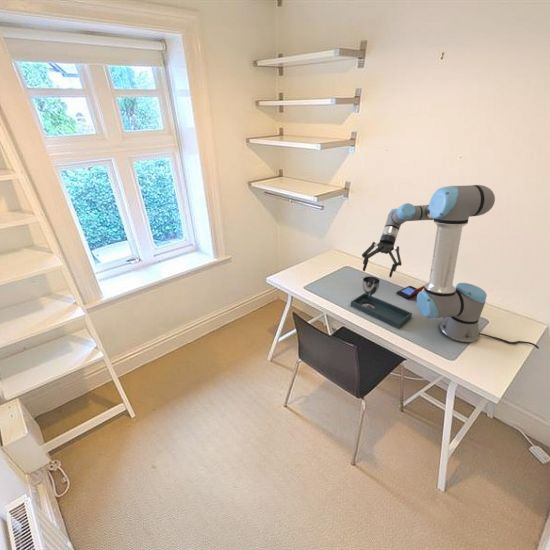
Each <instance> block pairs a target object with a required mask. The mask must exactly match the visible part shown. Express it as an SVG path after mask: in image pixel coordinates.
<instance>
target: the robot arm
mask: <svg viewBox="0 0 550 550" xmlns="http://www.w3.org/2000/svg"><path fill="white" fill-rule="evenodd" d="M495 202H496V196H495V194H494V192H493V190H492V189H491V188H490V187H488V186H486V185H481V184H472V185H471V184H470V185H447V186H442V187H440V188H437V189H436V190H435V192H433V194H432V196H431V197H430V200H429V204H421V205H414V204H411V203H410V202H406V203H403V204H401V205H400V206H398V207H396V208H395V207H394V208H391V210H390V211H389V213H388V215H387V219H386V222H385V224H384V228H383V229H382V233H381V236H380V239H379V241H378V243H377V242H375V241H372V243H371V244H370V246H369V247H368V248H367V249H365V251H364V252H362V254H361V258H363V261H362V264H363V267H362V271H363V272H366V269H367V266H368V264H369V259H370V258H372V257H373V256H375V255H377V254H379V253H381V254H385V255H387V254H388V255H389V257H390V259H391V260H392V262H393V263H392V265H391V268H390V271H389V275H388V277H389V278H392V276H393V272H396V271H397V267H398V266H399V267H401V266H402V264H403V263H402V260H401V255H400V246H395V243H396V239H397V238H398V235H399V232H400V231H399V230H400V229H401V226H402V225H403V224H404V223H406V222H417V221H433V223H434V224H435V225H436V233H435V240H434V246H433V253H432V259H431V260H432V261H431V268H430V274H429V281H428V282H427V283H425V284H424V285H425V287H424V289H423V290H422V291H421V292H419V293H418V294H417V295H416V304H417V309H418V310H419V313H421V315H422V316H423V317H424V318H427V319H442V318H443V319H442V321H441V322H440V325H439V330H440V332H441V334H443V335H444V336H445V337H446V338H448V339H450V340H452V341H455V342H458V343H463V344H464V343H465V344H471V343H474V342H476V341H477V340H478V339H479V336H483V337H487V338H492V339H495V340H499V341H502V342H504V343H506V344H511V345H515V344H527V345H531V346H533V347H535V348H536V349H540V347H539V346H538V345H537V344H535V343H533V342H529V341H522V340H516V341H509V340H506V339H503V338H500V337H496V336H492V335H489V334H485V333H483V332H482V333H481V332H480V328H479V320H480V317H481V315H482V312H483V309H484V307H485V304H486V300H487V297H488V295H487V293H486V291H485V290H484V289H483V288H481V287H479V286H477V285H475V284H473V283H472V284H471V283H467V282H459V283H457V284H456V285H455V286H454V285H453V284H454V278H455V272H456V266H457V262H458V261H457V260H458V255H459V249H460V243H461V237H462V233H463V228H464V227H465V226H466V225H468V224H469V218H470V217H479V216H482V215H485V214H487V213H488V212H490V211H491V209H492V208H493V207H494V205H495ZM373 249H374V250H373ZM393 250H394V251H395V252H396V253H395V254H396V257H397V259H396V258H395V255H394V254H393Z"/></svg>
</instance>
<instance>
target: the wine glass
mask: <svg viewBox="0 0 550 550" xmlns="http://www.w3.org/2000/svg"><path fill="white" fill-rule="evenodd" d="M380 284H381V281H380V279H379V278H377V277H376V276H370V275H369V276H365V277H363V279H362V288H363V291H364V293H366V294H367V296H368V302H363V303H361V305H362V306H364V307H367V308H369V309H374V308H375V305H374V304H373V303H370V302H369V300H370V297H371V296H373V295H375V294H376V293H377V292H378V290H379V287H380Z"/></svg>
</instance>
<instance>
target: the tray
mask: <svg viewBox="0 0 550 550" xmlns="http://www.w3.org/2000/svg"><path fill="white" fill-rule="evenodd" d="M363 302H368V296H367V294H366V293H365V292H364V293H362V294H360V295H359V296H357V297H356V298H354V299H352V300H351V301H350V307H352V308H354V309H356V310H358V311H360V312H363V313H365V314H366V315H369V316H370V317H373V318H375V319H377V320H379V321H381V322H383V323H385V324H388V325H390V326H391V327H394V328H396V329H400V328H401V327H403V326H404V325H405V324H406V323H407V322H409V320H411V319H412V316H413V313H412V312H410V311H408V310H406V309H403V308H401V307H398V306H396V305H394V304H392V303H389V302H387V301H385V300H382V299H380V298H378V297H375V296H373V295H371V297H370V300H369V302H370V303H373V304H374V305H375V308H374V309H369V308H367V307H364V306H362V305H361V303H363Z"/></svg>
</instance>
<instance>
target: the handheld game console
mask: <svg viewBox="0 0 550 550" xmlns="http://www.w3.org/2000/svg"><path fill="white" fill-rule="evenodd" d="M424 287H425V284H424V285H422V286H421V287H419V288H417V287H415V286H412V285H408V286H406V287H404V288H402V289H400V290H398V291H396V294H397V295H399V296H401V297H402V298H405V299H407V300H409V299H411V298H413V297H414V296H417V295H418V293H419V292H421V291H424Z"/></svg>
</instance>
